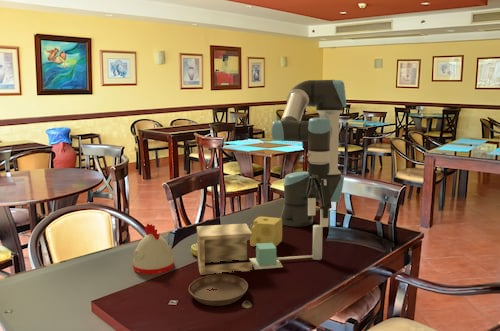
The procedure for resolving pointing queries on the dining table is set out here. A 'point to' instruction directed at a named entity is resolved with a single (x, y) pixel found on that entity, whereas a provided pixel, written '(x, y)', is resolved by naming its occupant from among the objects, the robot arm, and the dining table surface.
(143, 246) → the kitchen timer
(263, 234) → the cheese
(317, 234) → the block
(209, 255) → the box
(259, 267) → the mat
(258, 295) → the dining table surface
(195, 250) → the decorated donut
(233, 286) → the plant saucer
